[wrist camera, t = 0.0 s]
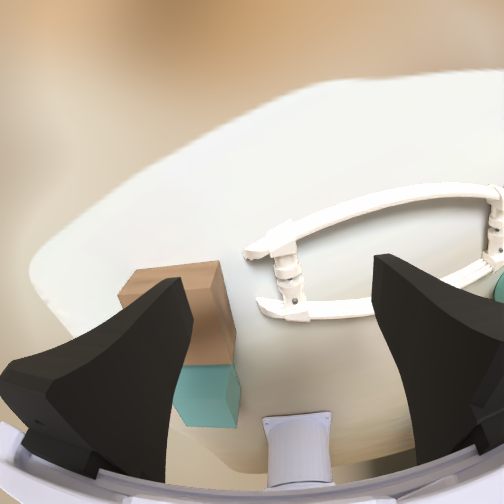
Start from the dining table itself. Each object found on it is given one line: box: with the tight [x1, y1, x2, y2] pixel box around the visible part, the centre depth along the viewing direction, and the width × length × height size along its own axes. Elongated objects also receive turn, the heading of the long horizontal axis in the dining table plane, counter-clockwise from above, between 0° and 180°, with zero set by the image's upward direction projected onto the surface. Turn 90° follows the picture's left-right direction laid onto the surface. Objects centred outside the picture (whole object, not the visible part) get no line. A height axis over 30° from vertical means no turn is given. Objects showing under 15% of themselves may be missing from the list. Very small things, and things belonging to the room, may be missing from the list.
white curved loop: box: [242, 183, 504, 322], centre depth 20 cm, size 3×10×25 cm
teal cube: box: [172, 360, 241, 428], centre depth 25 cm, size 5×5×5 cm
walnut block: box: [117, 260, 236, 365], centre depth 22 cm, size 7×7×4 cm
